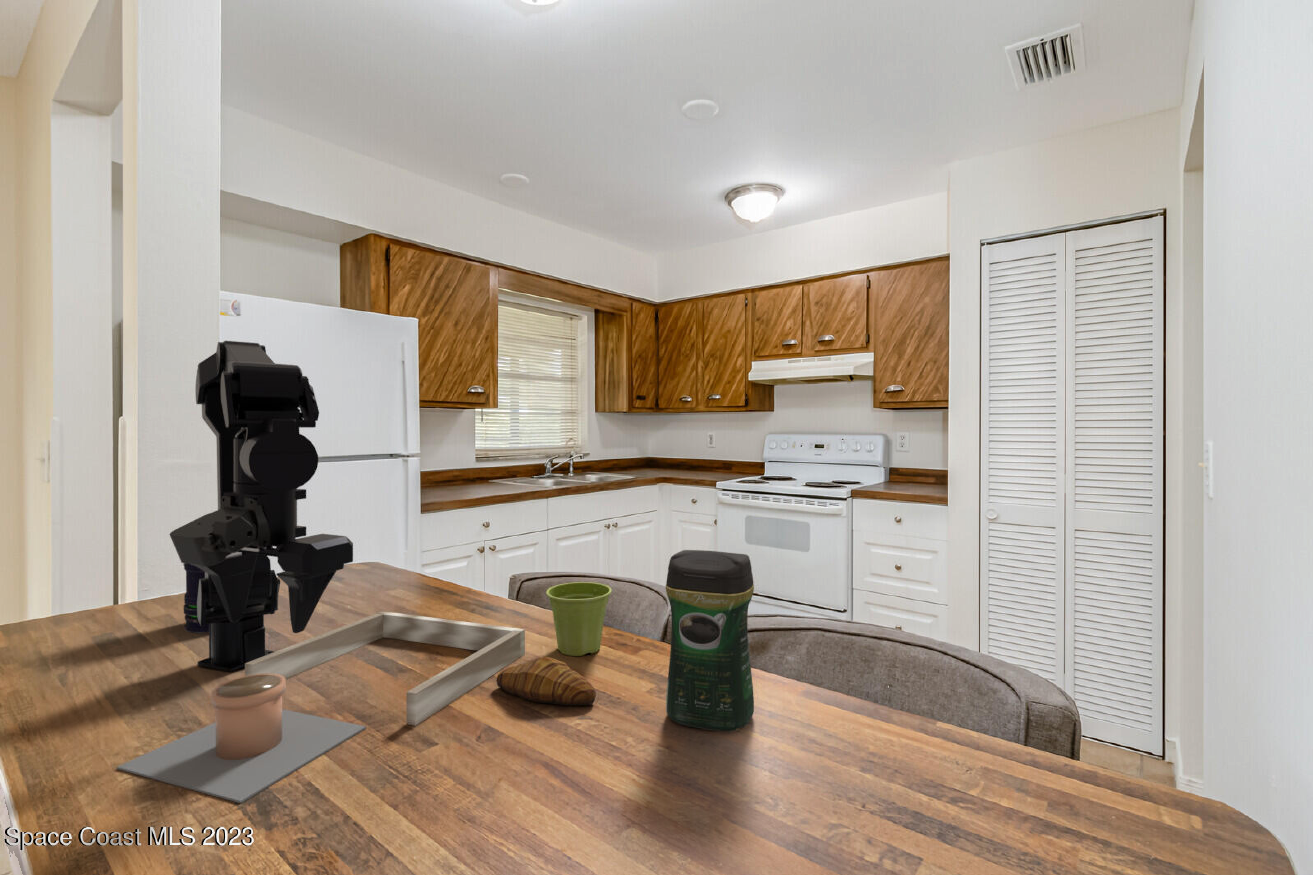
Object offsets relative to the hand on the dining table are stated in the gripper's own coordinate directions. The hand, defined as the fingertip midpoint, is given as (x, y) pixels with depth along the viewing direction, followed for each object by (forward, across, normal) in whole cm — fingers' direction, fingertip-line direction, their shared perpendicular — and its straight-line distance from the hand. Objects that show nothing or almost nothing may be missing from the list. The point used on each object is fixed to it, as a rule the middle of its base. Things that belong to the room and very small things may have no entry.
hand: (266, 626), depth 67 cm
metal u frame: (+11, +2, +16) cm, 20 cm away
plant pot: (+11, +21, +32) cm, 40 cm away
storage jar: (+12, -39, +23) cm, 46 cm away
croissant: (+11, +24, +17) cm, 32 cm away
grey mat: (+11, +3, -4) cm, 12 cm away
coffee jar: (+10, +44, +19) cm, 49 cm away
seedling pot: (+10, +3, -4) cm, 11 cm away
